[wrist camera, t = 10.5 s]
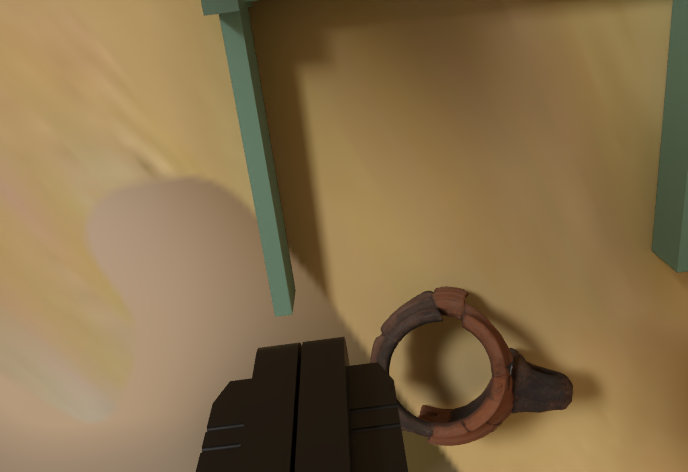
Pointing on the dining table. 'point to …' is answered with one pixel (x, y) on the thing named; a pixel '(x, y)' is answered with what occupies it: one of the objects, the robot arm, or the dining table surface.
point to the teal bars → (232, 6)
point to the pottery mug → (506, 365)
